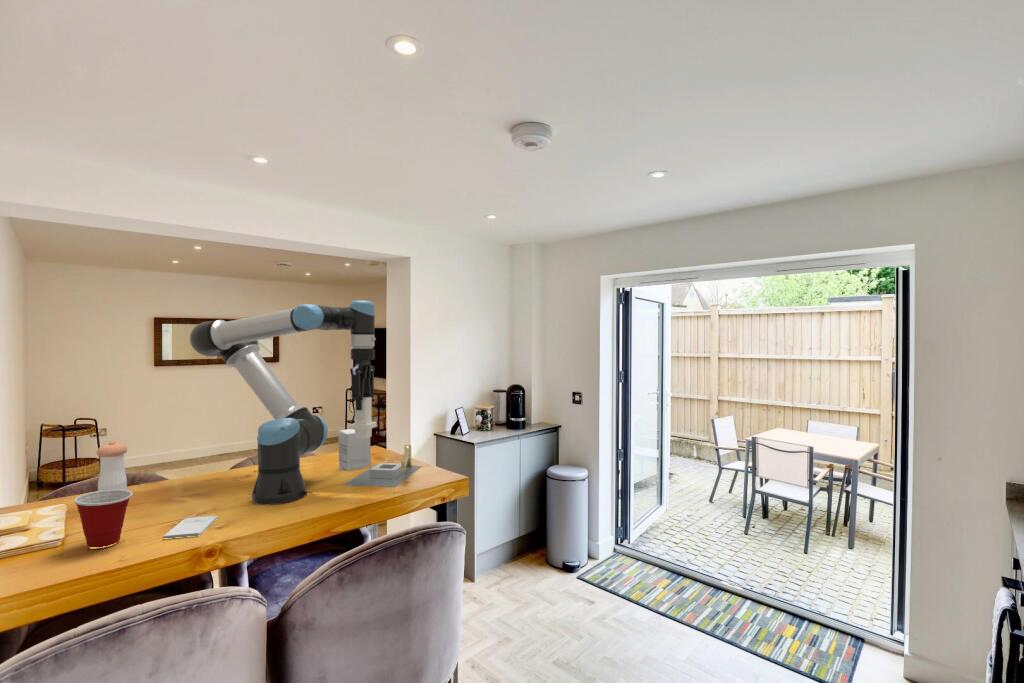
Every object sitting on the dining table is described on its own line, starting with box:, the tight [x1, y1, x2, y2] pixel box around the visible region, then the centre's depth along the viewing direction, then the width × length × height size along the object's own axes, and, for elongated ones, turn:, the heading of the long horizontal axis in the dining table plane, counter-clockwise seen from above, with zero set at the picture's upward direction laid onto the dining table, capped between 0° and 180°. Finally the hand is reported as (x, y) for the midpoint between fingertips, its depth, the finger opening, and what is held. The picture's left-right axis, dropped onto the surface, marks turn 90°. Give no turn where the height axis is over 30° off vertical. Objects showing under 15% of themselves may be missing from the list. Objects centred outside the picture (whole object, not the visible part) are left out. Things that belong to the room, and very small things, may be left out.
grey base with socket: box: [343, 462, 422, 488], centre depth 170 cm, size 18×26×4 cm
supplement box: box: [338, 428, 372, 471], centre depth 182 cm, size 9×9×15 cm
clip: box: [400, 444, 412, 470], centre depth 170 cm, size 2×25×7 cm, turn 8°
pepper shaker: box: [96, 440, 128, 491], centre depth 144 cm, size 7×7×19 cm
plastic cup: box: [73, 489, 134, 547], centre depth 117 cm, size 11×11×12 cm
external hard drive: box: [162, 515, 219, 538], centre depth 127 cm, size 2×8×12 cm
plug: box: [349, 397, 378, 439], centre depth 162 cm, size 6×6×13 cm
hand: (363, 418), depth 162 cm, fingers closed on plug, 4 cm apart
